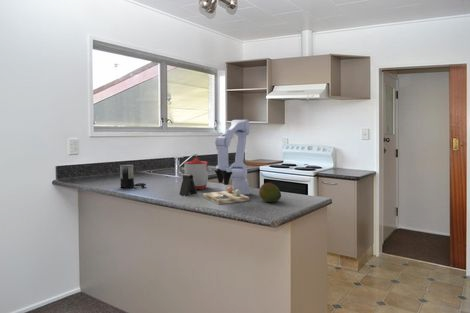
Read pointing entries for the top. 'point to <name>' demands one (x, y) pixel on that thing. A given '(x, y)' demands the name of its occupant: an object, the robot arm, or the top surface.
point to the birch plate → (230, 198)
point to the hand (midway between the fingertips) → (223, 183)
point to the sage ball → (238, 192)
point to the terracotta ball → (229, 189)
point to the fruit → (269, 192)
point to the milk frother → (128, 177)
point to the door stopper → (188, 185)
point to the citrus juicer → (198, 172)
